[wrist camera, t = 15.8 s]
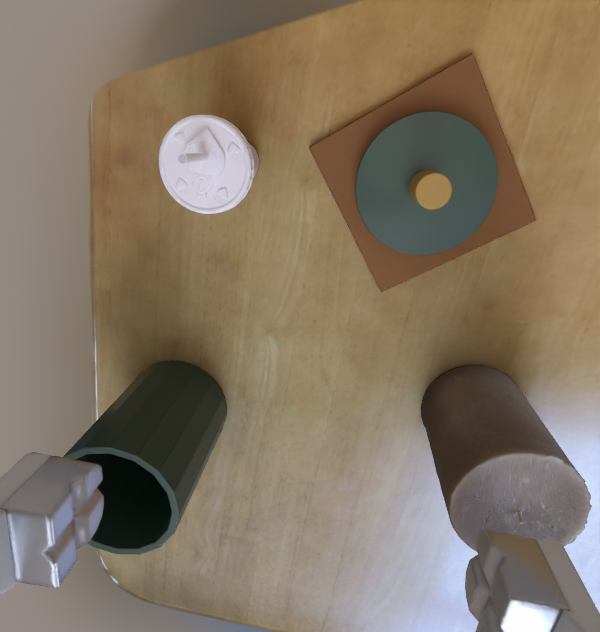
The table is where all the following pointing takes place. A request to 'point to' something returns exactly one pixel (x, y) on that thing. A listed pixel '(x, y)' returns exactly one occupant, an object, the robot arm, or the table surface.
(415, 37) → the table surface
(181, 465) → the tin
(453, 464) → the pillar candle
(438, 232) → the tin lid
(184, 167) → the smoothie
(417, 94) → the cork mat
